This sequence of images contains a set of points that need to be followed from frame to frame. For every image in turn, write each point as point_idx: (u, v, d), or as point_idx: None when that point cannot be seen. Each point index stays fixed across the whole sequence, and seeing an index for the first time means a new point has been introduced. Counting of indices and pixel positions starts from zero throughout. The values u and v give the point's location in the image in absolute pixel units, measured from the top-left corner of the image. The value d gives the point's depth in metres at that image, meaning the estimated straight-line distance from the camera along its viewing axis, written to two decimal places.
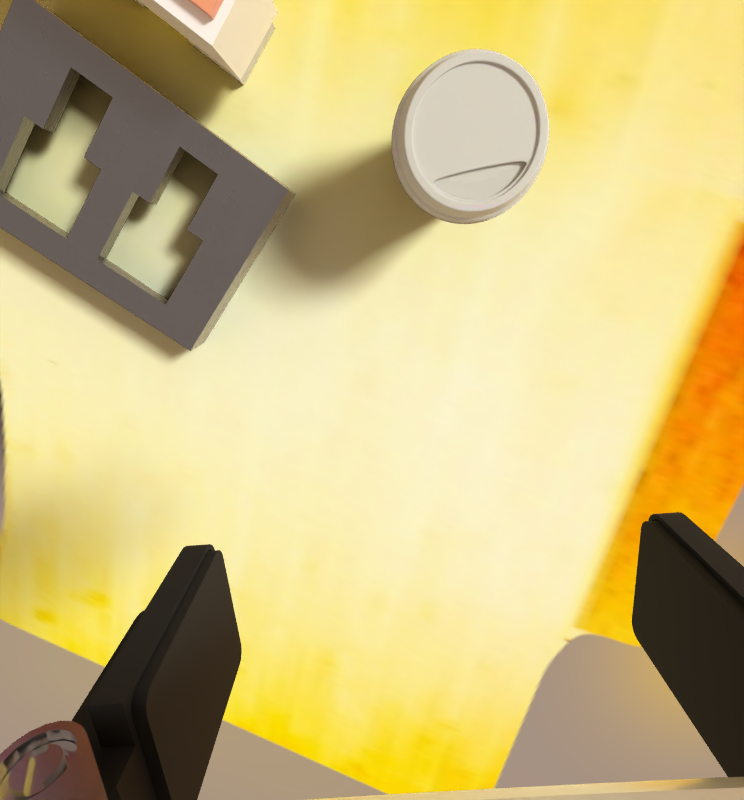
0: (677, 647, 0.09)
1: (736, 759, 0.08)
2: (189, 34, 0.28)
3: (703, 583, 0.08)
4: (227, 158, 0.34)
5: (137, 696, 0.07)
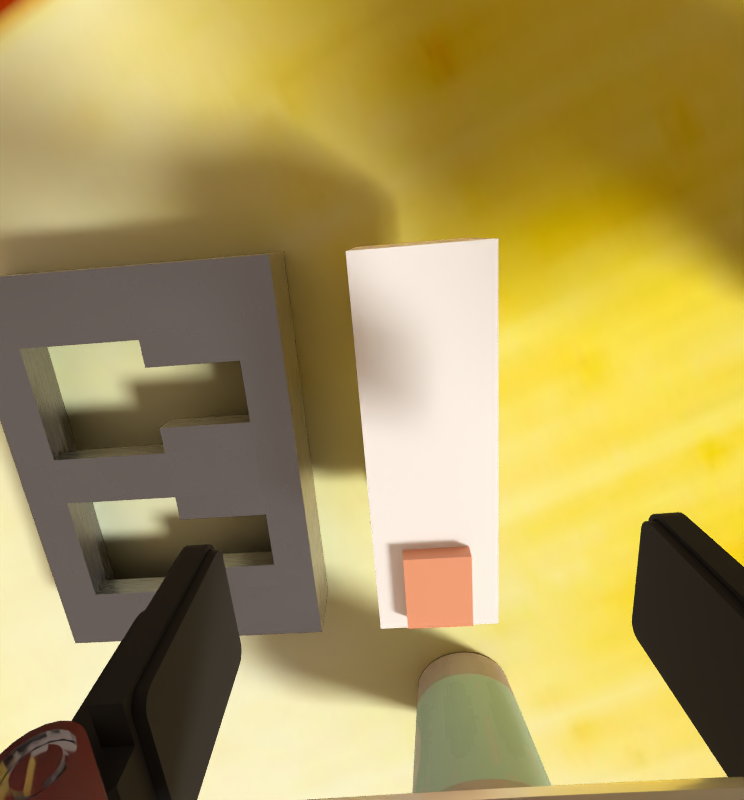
0: (677, 647, 0.09)
1: (736, 759, 0.08)
2: None
3: (703, 583, 0.08)
4: (297, 563, 0.26)
5: (137, 696, 0.07)
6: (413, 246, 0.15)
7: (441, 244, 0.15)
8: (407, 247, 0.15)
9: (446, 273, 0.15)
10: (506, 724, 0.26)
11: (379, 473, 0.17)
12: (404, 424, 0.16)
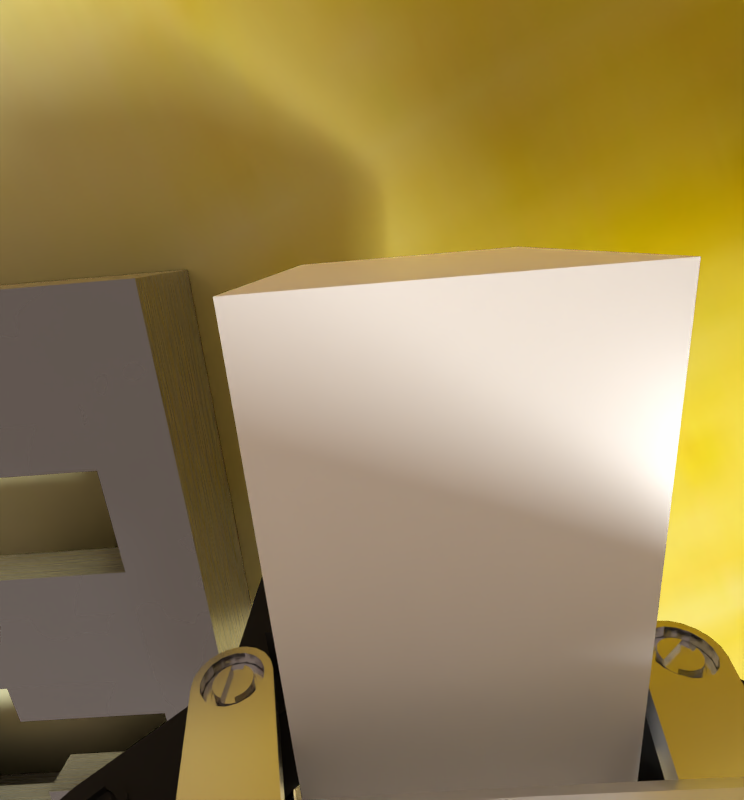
0: None
1: None
2: None
3: None
4: None
5: None
6: (428, 282, 0.05)
7: (517, 275, 0.05)
8: (409, 285, 0.05)
9: (530, 364, 0.05)
10: None
11: None
12: (400, 733, 0.06)
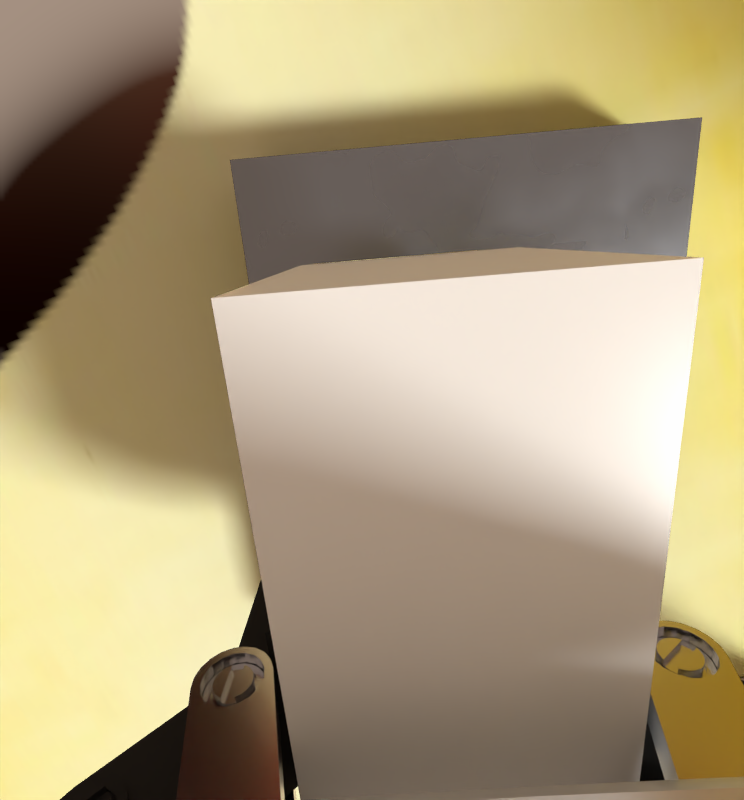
0: None
1: None
2: None
3: None
4: None
5: None
6: (428, 283, 0.05)
7: (517, 277, 0.05)
8: (409, 287, 0.05)
9: (531, 365, 0.05)
10: None
11: None
12: (401, 738, 0.06)
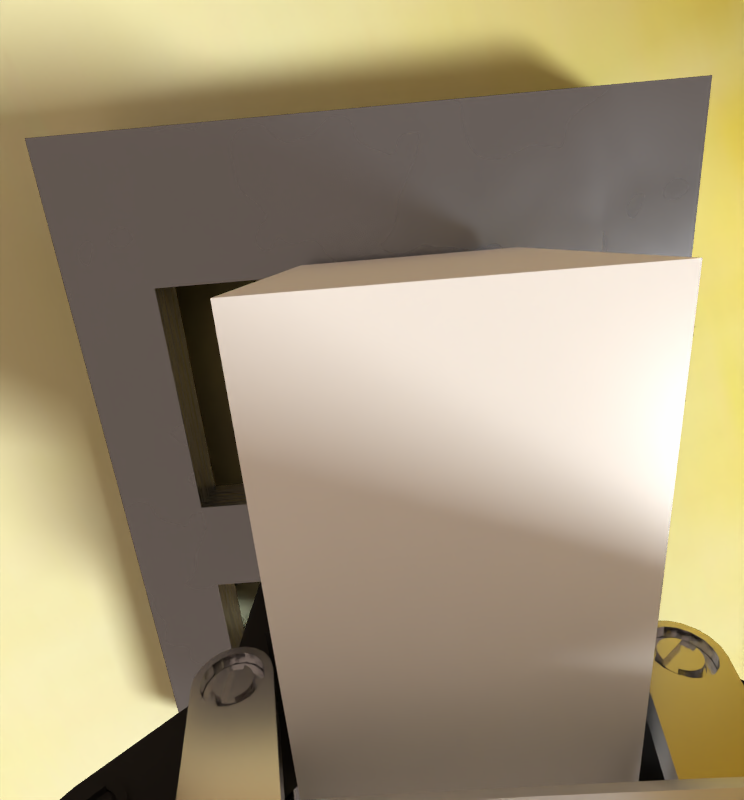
0: None
1: None
2: None
3: None
4: None
5: None
6: (427, 283, 0.05)
7: (516, 277, 0.05)
8: (408, 287, 0.05)
9: (530, 365, 0.05)
10: None
11: None
12: (400, 738, 0.06)
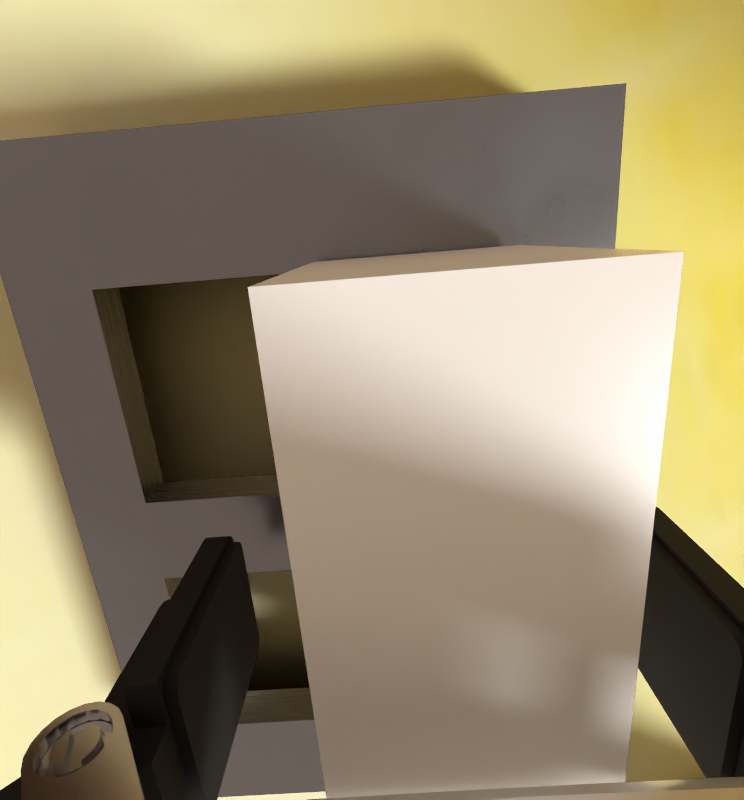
0: (651, 637, 0.10)
1: (703, 744, 0.08)
2: None
3: (673, 574, 0.09)
4: None
5: (169, 679, 0.07)
6: (440, 274, 0.05)
7: (519, 268, 0.05)
8: (423, 277, 0.05)
9: (531, 348, 0.05)
10: None
11: (355, 785, 0.07)
12: (412, 692, 0.07)
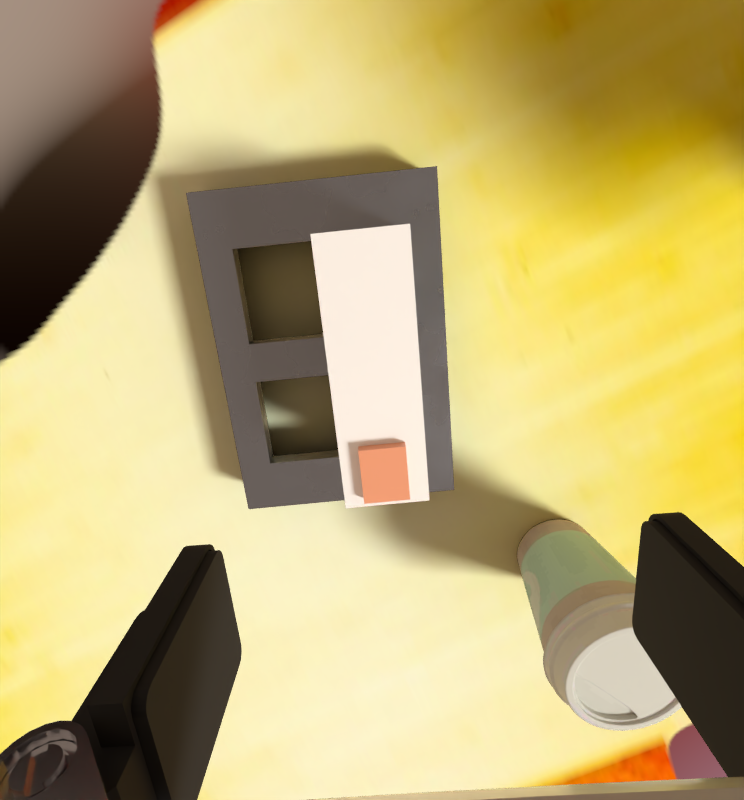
0: (677, 647, 0.09)
1: (736, 759, 0.08)
2: None
3: (703, 583, 0.08)
4: (439, 429, 0.32)
5: (137, 696, 0.07)
6: (355, 230, 0.22)
7: (373, 228, 0.22)
8: (351, 230, 0.22)
9: (377, 247, 0.22)
10: (606, 555, 0.33)
11: (339, 389, 0.24)
12: (355, 353, 0.24)
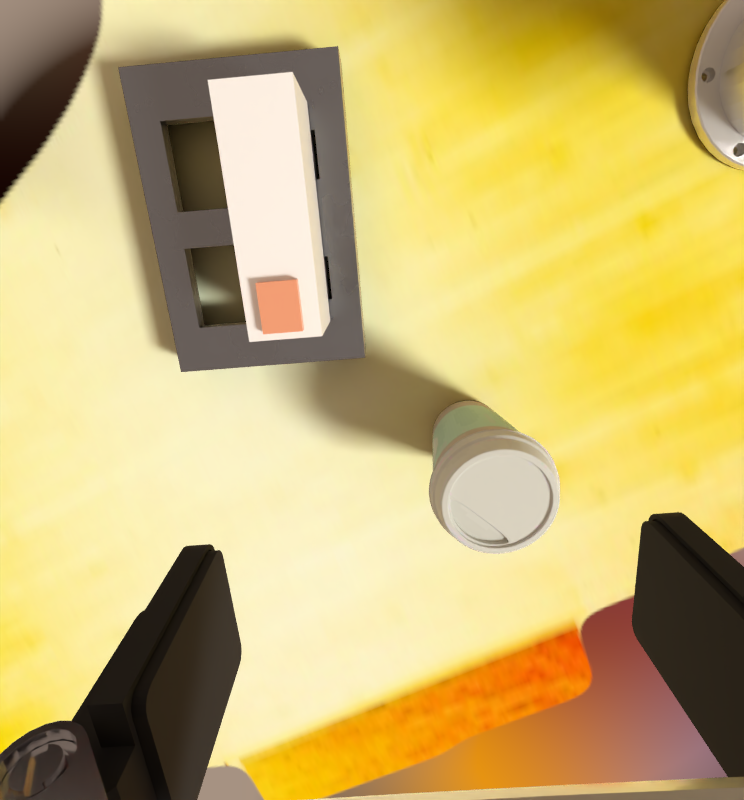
0: (677, 646, 0.09)
1: (736, 759, 0.08)
2: None
3: (703, 583, 0.08)
4: (349, 298, 0.36)
5: (137, 696, 0.07)
6: (245, 77, 0.26)
7: (261, 76, 0.26)
8: (242, 77, 0.26)
9: (266, 93, 0.26)
10: (499, 418, 0.37)
11: (239, 227, 0.28)
12: (250, 193, 0.28)
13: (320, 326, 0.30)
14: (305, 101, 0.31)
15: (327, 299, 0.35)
